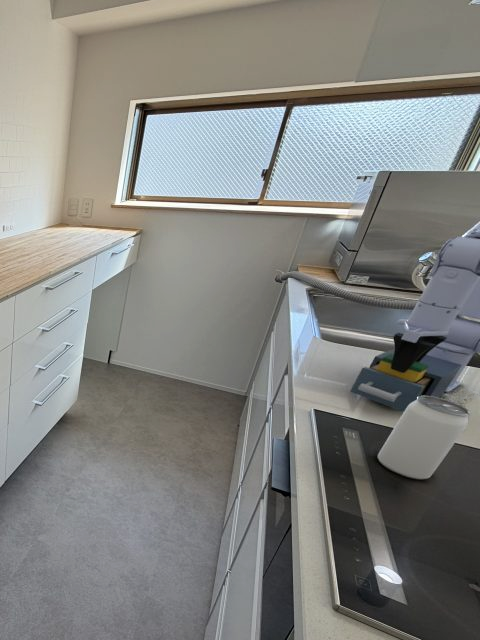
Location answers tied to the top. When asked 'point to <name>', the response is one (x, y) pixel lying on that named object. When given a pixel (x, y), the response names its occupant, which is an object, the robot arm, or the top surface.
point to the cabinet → (431, 372)
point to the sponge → (411, 374)
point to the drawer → (389, 388)
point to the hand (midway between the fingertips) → (402, 368)
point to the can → (423, 437)
